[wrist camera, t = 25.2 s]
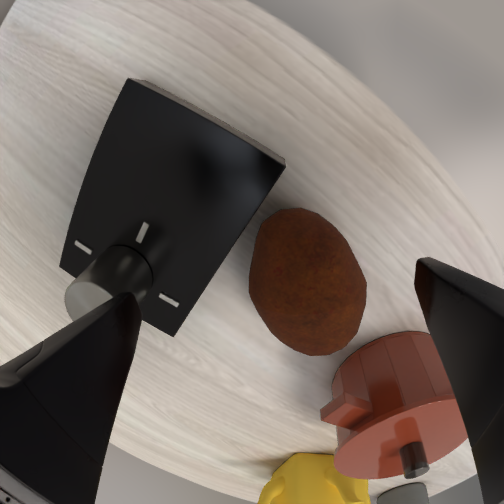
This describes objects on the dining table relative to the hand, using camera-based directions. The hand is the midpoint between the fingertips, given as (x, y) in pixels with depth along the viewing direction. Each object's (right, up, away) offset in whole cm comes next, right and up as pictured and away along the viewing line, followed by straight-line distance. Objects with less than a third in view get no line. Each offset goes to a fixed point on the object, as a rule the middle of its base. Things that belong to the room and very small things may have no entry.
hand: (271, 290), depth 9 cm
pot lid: (+12, -14, +9) cm, 20 cm away
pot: (+12, -10, +16) cm, 23 cm away
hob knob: (-9, 0, +10) cm, 13 cm away
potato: (+3, 0, +12) cm, 12 cm away
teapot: (+8, -28, +25) cm, 39 cm away
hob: (-7, +4, +11) cm, 13 cm away
